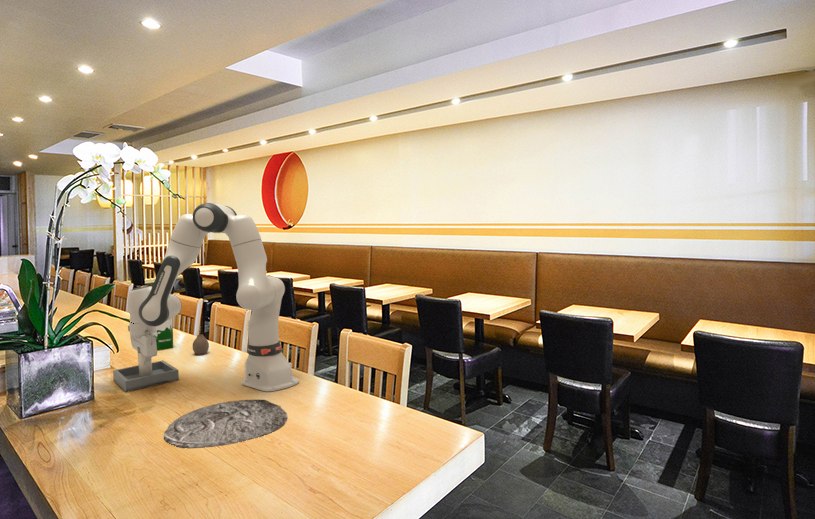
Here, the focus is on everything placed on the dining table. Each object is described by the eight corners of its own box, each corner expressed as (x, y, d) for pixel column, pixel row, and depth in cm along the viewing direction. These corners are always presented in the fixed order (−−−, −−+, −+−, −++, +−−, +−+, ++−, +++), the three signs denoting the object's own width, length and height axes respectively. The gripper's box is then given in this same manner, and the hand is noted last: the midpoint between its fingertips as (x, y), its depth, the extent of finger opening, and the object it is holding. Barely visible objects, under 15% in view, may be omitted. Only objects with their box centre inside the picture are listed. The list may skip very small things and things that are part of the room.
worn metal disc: (147, 424, 143) (147, 422, 143) (255, 393, 168) (255, 392, 168) (187, 463, 120) (187, 462, 120) (307, 421, 144) (307, 420, 144)
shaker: (154, 374, 182) (152, 346, 182) (140, 377, 179) (139, 348, 178) (150, 371, 186) (148, 344, 185) (137, 374, 183) (135, 346, 182)
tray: (178, 379, 182) (178, 369, 182) (126, 392, 170) (125, 381, 170) (163, 369, 195) (163, 360, 195) (113, 380, 183) (112, 370, 183)
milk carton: (170, 344, 236) (167, 304, 234) (175, 347, 229) (173, 307, 227) (150, 347, 230) (148, 307, 228) (156, 351, 223) (153, 309, 222)
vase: (205, 355, 215) (204, 336, 214) (190, 355, 215) (189, 336, 214) (211, 351, 222) (210, 333, 221) (197, 351, 222) (196, 333, 221)
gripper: (160, 331, 176) (162, 367, 177) (144, 323, 190) (146, 356, 192) (141, 334, 171) (144, 371, 173) (126, 325, 186) (128, 360, 187)
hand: (145, 363), depth 182 cm, fingers closed on shaker, 4 cm apart
